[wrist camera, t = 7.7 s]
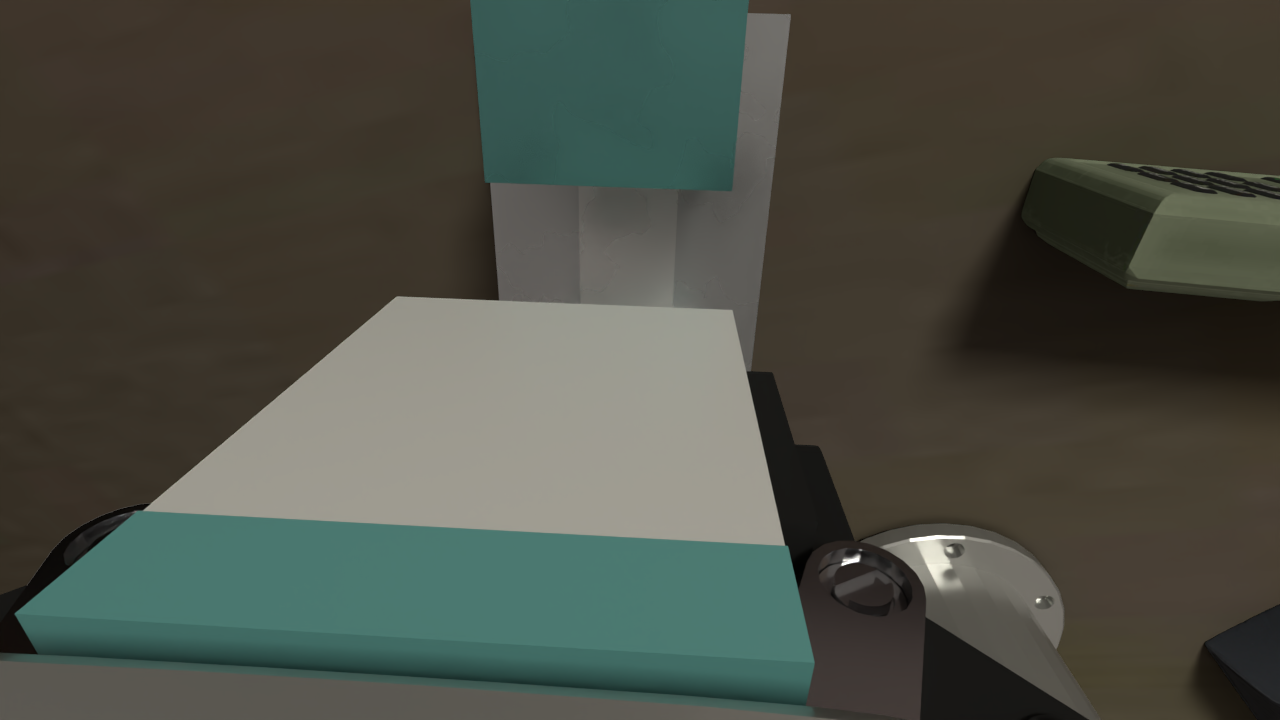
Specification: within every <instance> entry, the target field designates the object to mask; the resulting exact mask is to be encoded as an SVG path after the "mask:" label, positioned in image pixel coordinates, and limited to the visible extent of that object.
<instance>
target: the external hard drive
mask: <svg viewBox="0 0 1280 720" xmlns="http://www.w3.org/2000/svg"><path fill="white" fill-rule="evenodd" d="M1205 646H1206V647H1207V649H1208V651H1209V652H1210V654H1211V655H1212V656H1213V658H1214V659H1215V661H1216V662H1217V663H1218V665H1219V666H1220V668H1221V669H1222V670H1223V672H1224V673H1225V675H1226V676H1227V677H1228V679H1229V681H1230V682H1231V683H1232V685H1233V686H1234V687H1235V689H1236V690H1237V692H1238V693H1239V695H1240V696H1241V698H1242V699H1243V700H1244V702H1245V703H1246V704H1247V706H1248V707H1249V709H1250V710H1251V711H1252V713H1253V714H1254V716H1255V717H1256V718H1257V720H1280V604H1279V605H1277V606H1275V607H1273V608H1271V609H1269V610H1266V611H1264V612H1262V613H1260V614H1258V615H1257V616H1254V617H1252V618H1250V619H1248V620H1246V621H1245V622H1243V623H1240V624H1238V625H1236V626H1234V627H1232V628H1230V629H1228V630H1226V631H1224V632H1223V633H1220V634H1219V635H1217V636H1215V637H1213V638H1212V639H1210V640H1208V641H1206V642H1205Z"/></svg>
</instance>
